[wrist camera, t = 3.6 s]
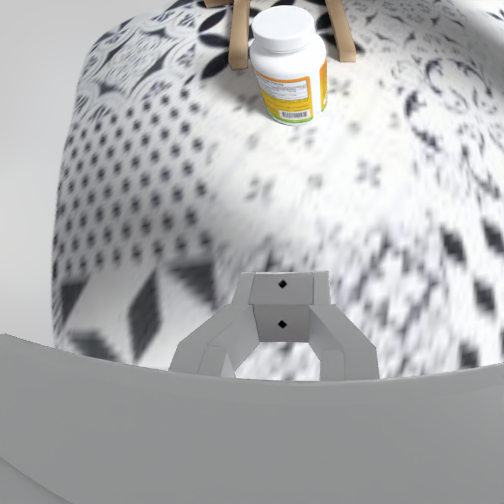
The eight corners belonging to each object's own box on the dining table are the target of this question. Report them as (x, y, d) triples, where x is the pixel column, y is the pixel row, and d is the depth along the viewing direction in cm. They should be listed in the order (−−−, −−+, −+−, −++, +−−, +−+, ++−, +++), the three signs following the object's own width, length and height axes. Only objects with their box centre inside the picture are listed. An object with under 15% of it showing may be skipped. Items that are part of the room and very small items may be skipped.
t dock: (364, -10, 26) (365, -22, 24) (394, 64, 24) (397, 50, 22) (208, 2, 30) (203, -8, 28) (194, 76, 28) (187, 64, 26)
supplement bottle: (298, 72, 25) (285, -8, 16) (340, 105, 24) (342, 21, 15) (253, 102, 26) (224, 24, 16) (293, 139, 24) (276, 58, 15)
